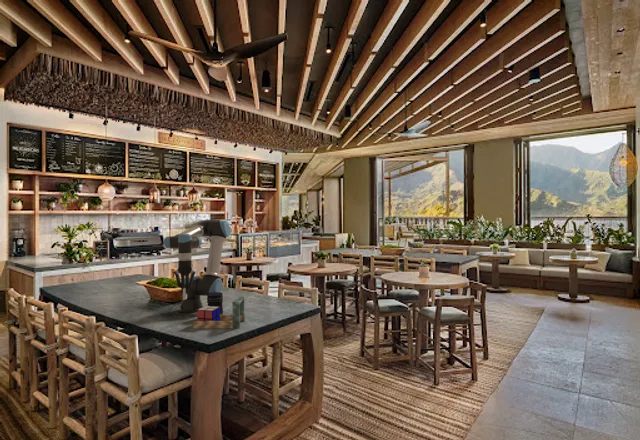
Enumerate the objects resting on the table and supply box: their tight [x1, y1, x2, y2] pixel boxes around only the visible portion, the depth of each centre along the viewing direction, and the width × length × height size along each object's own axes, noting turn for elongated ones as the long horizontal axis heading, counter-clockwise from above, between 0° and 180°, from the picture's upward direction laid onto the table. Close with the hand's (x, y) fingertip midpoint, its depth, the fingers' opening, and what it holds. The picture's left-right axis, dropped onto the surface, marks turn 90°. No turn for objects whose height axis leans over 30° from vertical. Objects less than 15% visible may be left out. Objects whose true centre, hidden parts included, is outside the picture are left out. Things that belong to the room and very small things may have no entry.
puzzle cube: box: [196, 305, 220, 321], centre depth 229 cm, size 10×10×10 cm
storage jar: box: [206, 292, 224, 315], centre depth 246 cm, size 10×10×15 cm
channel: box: [192, 296, 245, 329], centre depth 229 cm, size 27×15×15 cm, turn 90°
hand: (185, 299), depth 228 cm, fingers closed
